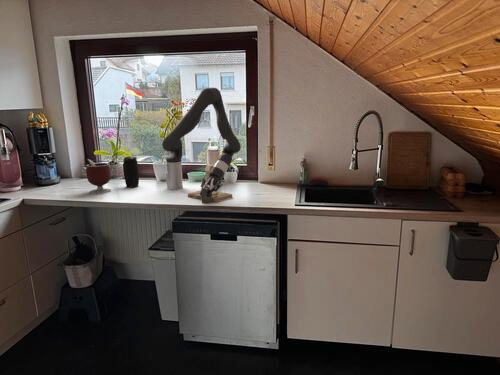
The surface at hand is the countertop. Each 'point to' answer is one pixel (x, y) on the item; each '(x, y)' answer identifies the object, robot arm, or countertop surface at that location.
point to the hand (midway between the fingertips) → (204, 195)
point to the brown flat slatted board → (215, 198)
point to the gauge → (204, 197)
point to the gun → (208, 171)
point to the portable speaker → (131, 171)
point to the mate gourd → (98, 176)
